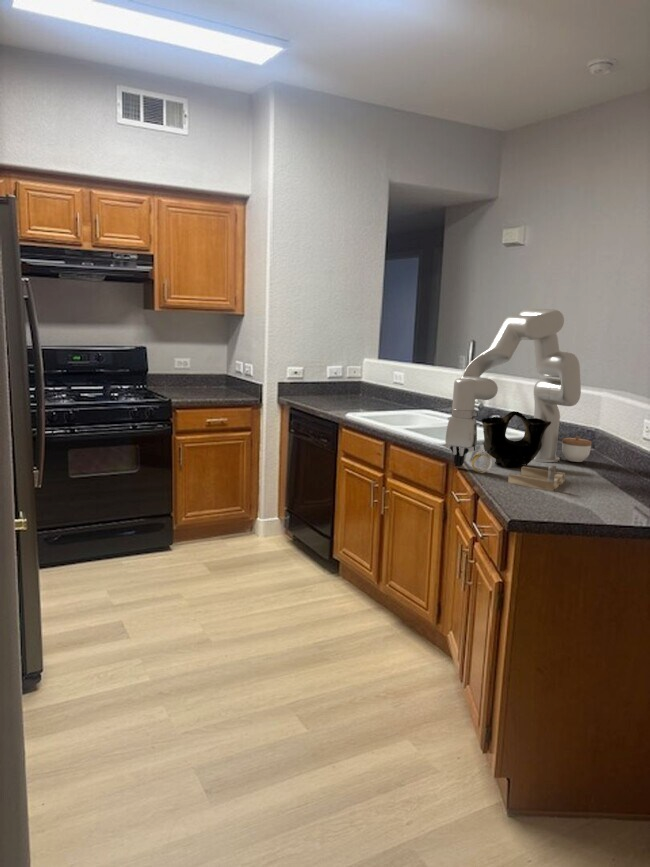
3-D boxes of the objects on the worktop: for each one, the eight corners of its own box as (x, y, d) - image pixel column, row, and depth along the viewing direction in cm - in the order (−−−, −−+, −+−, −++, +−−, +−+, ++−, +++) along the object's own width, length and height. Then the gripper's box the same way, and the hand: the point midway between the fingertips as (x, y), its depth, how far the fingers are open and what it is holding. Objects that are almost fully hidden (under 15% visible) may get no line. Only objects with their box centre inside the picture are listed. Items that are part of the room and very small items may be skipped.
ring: (471, 474, 222) (473, 451, 220) (469, 471, 225) (471, 449, 223) (492, 474, 222) (494, 452, 220) (489, 472, 225) (491, 450, 223)
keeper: (522, 474, 224) (524, 452, 222) (564, 481, 216) (566, 458, 215) (506, 485, 209) (508, 460, 207) (550, 493, 201) (553, 468, 200)
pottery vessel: (540, 463, 243) (545, 410, 240) (550, 470, 233) (556, 415, 229) (474, 460, 243) (478, 408, 239) (481, 467, 232) (486, 412, 228)
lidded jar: (592, 464, 245) (595, 440, 243) (562, 461, 247) (565, 437, 245) (586, 458, 255) (589, 435, 254) (558, 456, 257) (560, 432, 256)
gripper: (487, 415, 223) (482, 467, 227) (446, 410, 231) (442, 460, 235) (479, 418, 217) (475, 471, 220) (438, 412, 225) (434, 464, 228)
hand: (458, 465), depth 227 cm, fingers closed
